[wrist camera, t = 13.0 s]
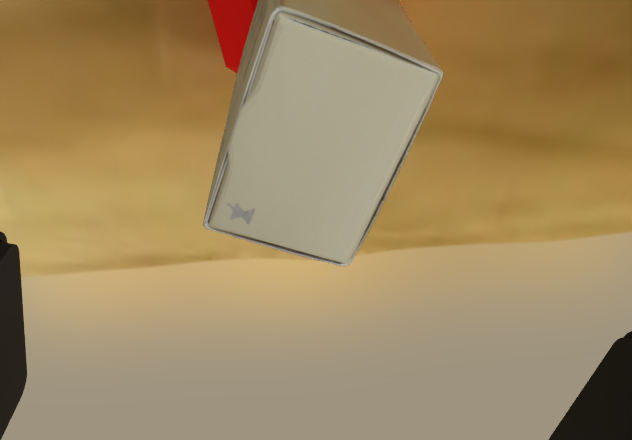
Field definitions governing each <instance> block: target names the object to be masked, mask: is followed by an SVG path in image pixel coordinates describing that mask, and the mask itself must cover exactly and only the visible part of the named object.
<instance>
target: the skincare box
mask: <svg viewBox="0 0 632 440" xmlns="http://www.w3.org/2000/svg"><path fill="white" fill-rule="evenodd" d="M442 78H443V71H442V70H441V68H440V67H439V65H438V64H437V62H436V61H435V59H434V57H433V56H432V54H431V52H430V51H429V49H428V48H427V46H426V45H425V43H424V41H423V40H422V38H421V37H420V35H419V34H418V32H417V30H416V29H415V27H414V26H413V24H412V23H411V21H410V19H409V18H408V16H407V15H406V13H405V11H404V10H403V8H402V6H401V5H400V3H399V2H398V0H258V2H257V6H256V9H255V12H254V16H253V19H252V22H251V26H250V29H249V33H248V36H247V39H246V43H245V46H244V50H243V54H242V58H241V61H240V65H239V69H238V73H237V78H236V82H235V86H234V91H233V95H232V100H231V104H230V108H229V113H228V117H227V121H226V126H225V130H224V134H223V138H222V142H221V147H220V151H219V155H218V159H217V163H216V168H215V172H214V177H213V181H212V185H211V190H210V194H209V199H208V203H207V208H206V212H205V217H204V221H203V226H204V227H205V228H206V229H209V230H212V231H215V232H219V233H223V234H227V235H230V236H233V237H236V238H239V239H243V240H247V241H250V242H253V243H256V244H260V245H263V246H267V247H271V248H274V249H278V250H281V251H284V252H288V253H291V254H295V255H299V256H302V257H306V258H310V259H314V260H318V261H323V262H328V263H332V264H335V265H339V266H344V267H346V266H348V265H349V264H350V263H351V262H352V260H353V258H354V257H355V255H356V253H357V252H358V250H359V249H360V247H361V245H362V243H363V241H364V239H365V238H366V236H367V234H368V232H369V230H370V228H371V227H372V225H373V223H374V221H375V219H376V217H377V216H378V214H379V212H380V209H381V207H382V205H383V204H384V202H385V200H386V198H387V195H388V193H389V191H390V189H391V187H392V186H393V183H394V181H395V179H396V177H397V175H398V173H399V171H400V169H401V167H402V165H403V163H404V161H405V159H406V156H407V154H408V152H409V150H410V148H411V146H412V143H413V141H414V139H415V137H416V135H417V133H418V131H419V129H420V126H421V124H422V122H423V119H424V117H425V115H426V113H427V111H428V109H429V107H430V104H431V102H432V100H433V97H434V95H435V93H436V91H437V88H438V86H439V84H440V82H441V80H442Z"/></svg>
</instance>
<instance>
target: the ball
mask: <svg viewBox="0 0 632 440" xmlns="http://www.w3.org/2000/svg"><path fill="white" fill-rule="evenodd" d="M208 2H209V6H210V10H211V13H212V17H213V21H214V24H215V28H216V31H217V35H218V39H219V42H220V46H221V50H222V53H223V57H224V60H225V64H226V67H228V68H230V69H231V70H233V71H234V72H236V73H238V69H239V65H240V61H241V58H242V54H243V50H244V46H245V43H246V39H247V36H248V33H249V29H250V26H251V22H252V19H253V16H254V12H255V9H256V6H257V2H258V0H208Z"/></svg>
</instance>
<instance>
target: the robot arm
mask: <svg viewBox="0 0 632 440" xmlns="http://www.w3.org/2000/svg"><path fill="white" fill-rule="evenodd" d="M25 351H26V350H25V335H24V320H23V304H22V288H21V273H20V258H19V249H18V247H17V245H15V244H9V243H7V239H6V236H5V234H4V233H2V232H0V440H1V438H2V436H3V434H4V432H5V430H6V428H7V426H8V423H9V421H10V419H11V417H12V415H13V413H14V411H15V409H16V407H17V405H18V402H19V401H20V398H21V396H22V394H23V390H24V387H25V383H26V377H27V366H26V352H25ZM549 440H632V331H631V332H629V333H627V334H626V335H625V336H624V337H623V338H620V339H618V340H617V341H616V342H615V343H614V344H613V345H612V347H611V348H610V350H609V351H608V353H607V354H606V356H605V357H604V359H603V360H602V362H601V363H600V365H599V366H598V368H597V369H596V371H595V372H594V373H593V375H592V376H591V378H590V379H589V381H588V382H587V384H586V385H585V387H584V388H583V390H582V391H581V392H580V394H579V396H578V397H577V398H576V400H575V401H574V403H573V404H572V406H571V407H570V409H569V410H568V412H567V413H566V415H565V416H564V418H563V419H562V420H561V422H560V423H559V425H558V427H557V428H556V429H555V431H554V432H553V434H552V435H551V437H550V439H549Z"/></svg>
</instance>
